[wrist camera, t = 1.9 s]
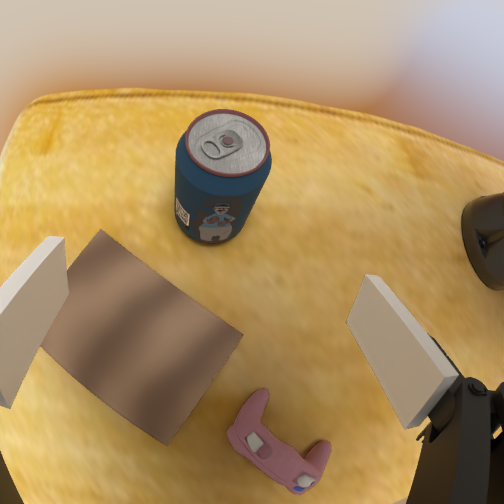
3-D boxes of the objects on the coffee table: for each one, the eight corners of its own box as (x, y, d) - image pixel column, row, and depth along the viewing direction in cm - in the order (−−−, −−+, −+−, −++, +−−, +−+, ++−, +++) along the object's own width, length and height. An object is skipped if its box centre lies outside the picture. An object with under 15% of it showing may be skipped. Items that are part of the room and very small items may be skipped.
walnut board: (240, 335, 28) (243, 334, 27) (167, 441, 23) (166, 446, 22) (104, 234, 28) (100, 228, 27) (31, 331, 24) (24, 330, 22)
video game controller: (227, 408, 27) (211, 448, 20) (262, 379, 27) (254, 417, 20) (299, 466, 26) (300, 511, 19) (333, 441, 26) (343, 485, 19)
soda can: (218, 174, 33) (239, 92, 22) (257, 224, 32) (298, 156, 21) (161, 205, 30) (157, 125, 19) (200, 261, 30) (214, 201, 18)
